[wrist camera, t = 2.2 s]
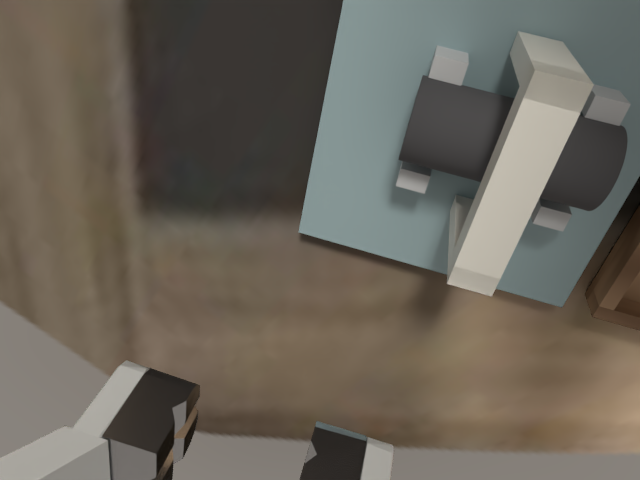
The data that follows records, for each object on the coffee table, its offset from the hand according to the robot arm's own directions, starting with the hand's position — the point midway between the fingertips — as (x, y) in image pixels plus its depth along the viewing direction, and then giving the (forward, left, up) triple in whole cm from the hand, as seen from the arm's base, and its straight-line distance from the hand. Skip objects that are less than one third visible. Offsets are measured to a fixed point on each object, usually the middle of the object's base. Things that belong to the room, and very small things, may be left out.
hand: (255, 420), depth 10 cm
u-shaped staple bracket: (0, +6, -20) cm, 21 cm away
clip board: (0, +5, -21) cm, 22 cm away
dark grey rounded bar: (0, +6, -20) cm, 21 cm away
